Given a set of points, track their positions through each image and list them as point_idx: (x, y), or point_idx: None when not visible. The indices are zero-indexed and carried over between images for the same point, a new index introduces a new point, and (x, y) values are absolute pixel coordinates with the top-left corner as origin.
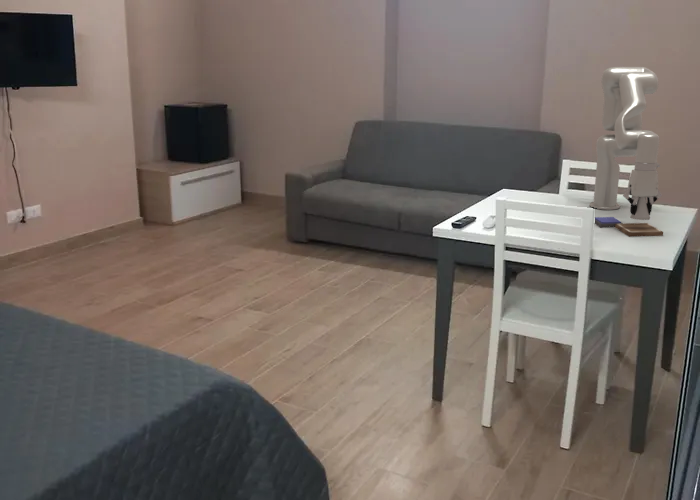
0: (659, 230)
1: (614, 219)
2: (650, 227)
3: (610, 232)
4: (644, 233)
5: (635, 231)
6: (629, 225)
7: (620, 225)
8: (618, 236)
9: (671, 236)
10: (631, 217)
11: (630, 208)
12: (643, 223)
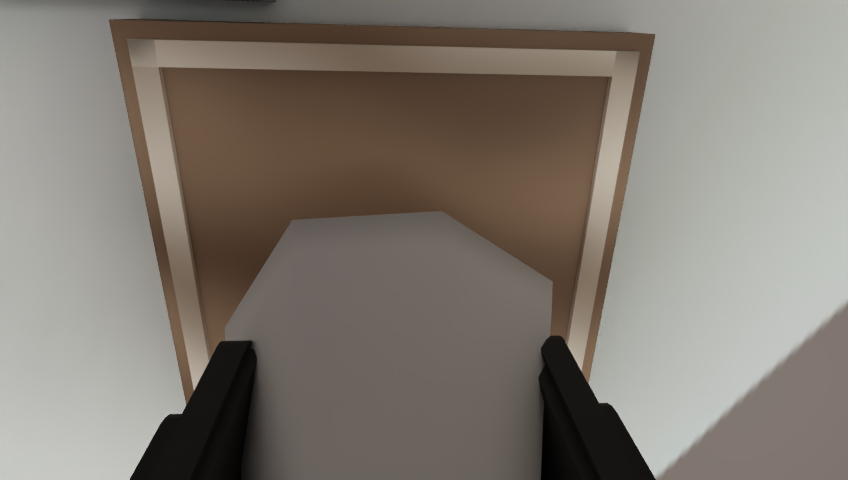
0: None
1: None
2: (548, 266)
3: (29, 252)
4: None
5: None
6: (313, 143)
7: (163, 158)
8: (97, 400)
9: (629, 424)
10: None
11: (139, 463)
12: (565, 75)
